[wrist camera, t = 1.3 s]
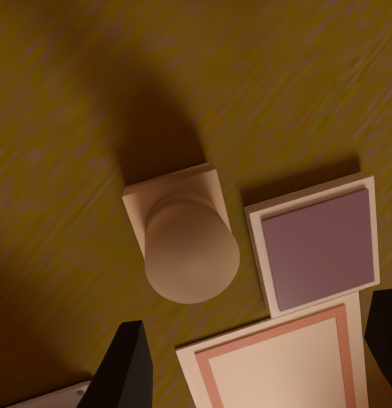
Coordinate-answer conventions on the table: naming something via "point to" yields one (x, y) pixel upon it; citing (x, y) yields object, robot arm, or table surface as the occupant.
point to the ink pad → (315, 243)
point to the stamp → (184, 233)
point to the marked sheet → (283, 361)
